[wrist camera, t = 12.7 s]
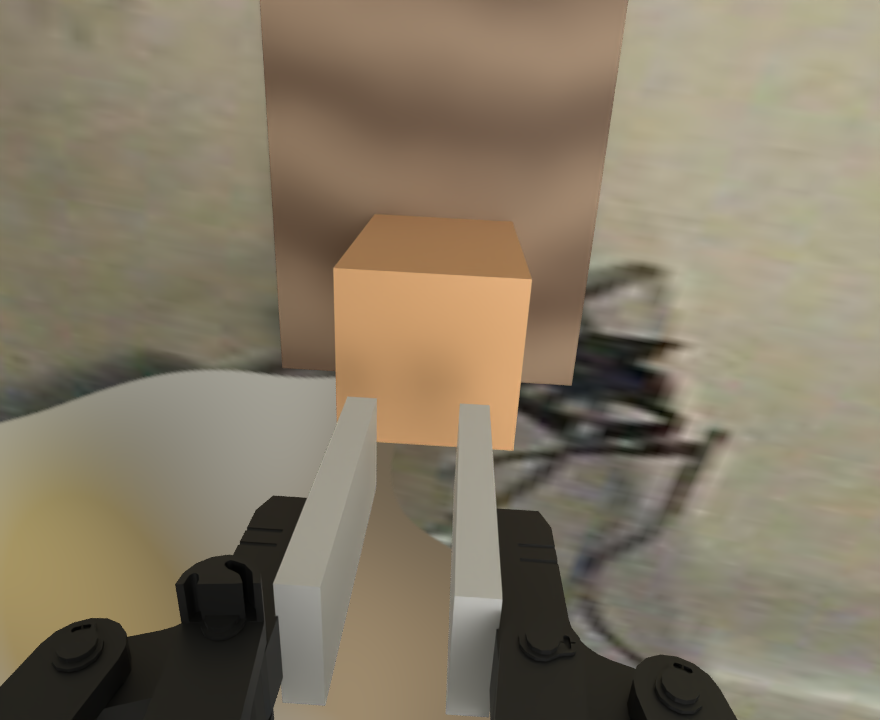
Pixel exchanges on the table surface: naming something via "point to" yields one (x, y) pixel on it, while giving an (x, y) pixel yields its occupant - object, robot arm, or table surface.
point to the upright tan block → (432, 325)
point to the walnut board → (438, 144)
